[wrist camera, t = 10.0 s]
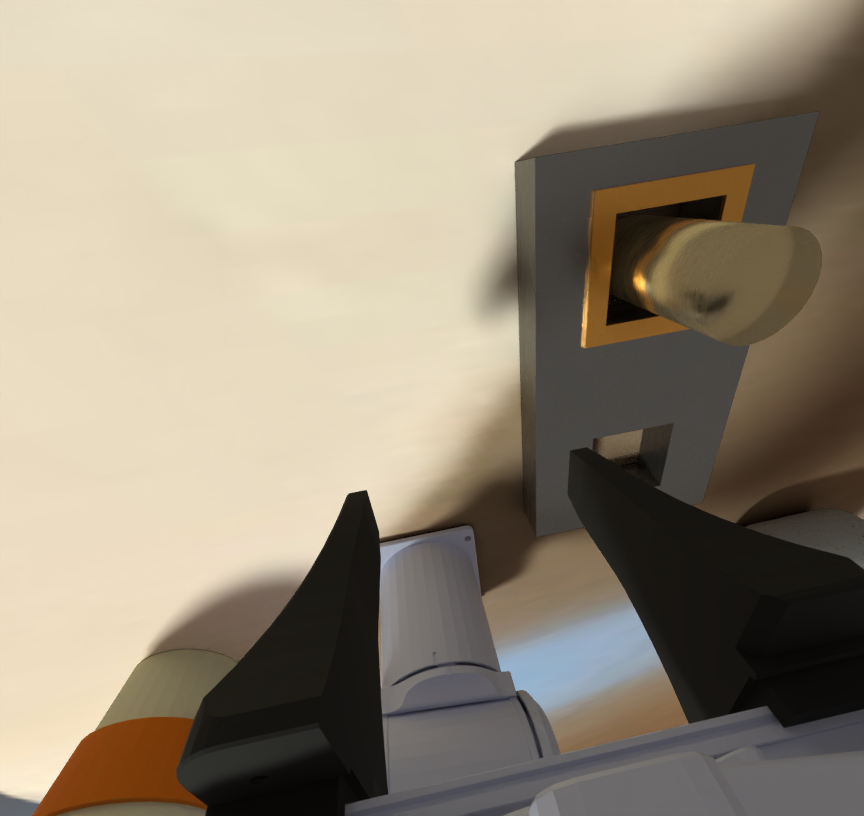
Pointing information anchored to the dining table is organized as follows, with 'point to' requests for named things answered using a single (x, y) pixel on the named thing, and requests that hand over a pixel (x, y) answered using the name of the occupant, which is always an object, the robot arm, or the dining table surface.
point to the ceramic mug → (820, 531)
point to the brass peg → (715, 273)
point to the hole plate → (631, 305)
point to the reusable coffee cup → (140, 743)
